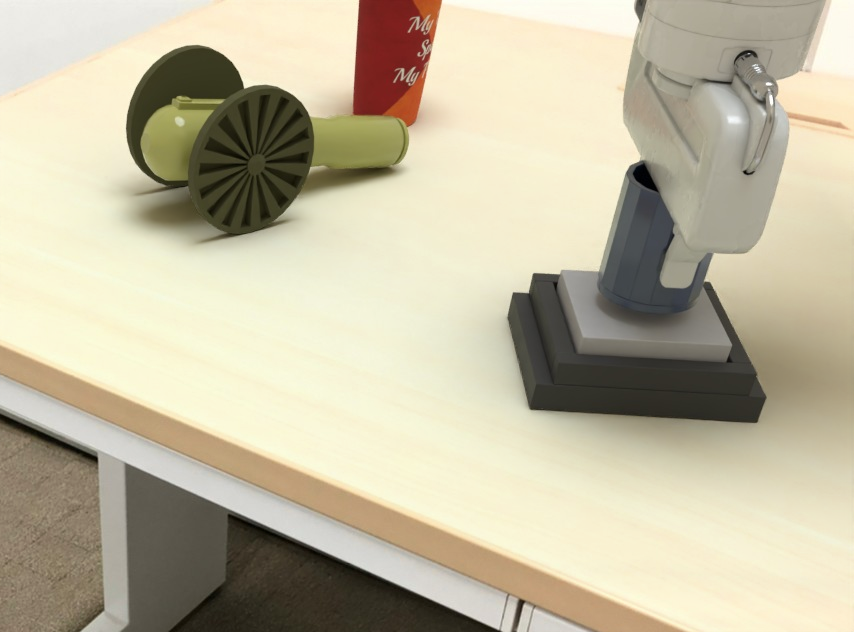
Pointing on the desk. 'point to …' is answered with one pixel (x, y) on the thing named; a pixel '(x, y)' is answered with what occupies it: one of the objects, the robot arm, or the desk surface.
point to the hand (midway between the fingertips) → (658, 253)
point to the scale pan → (637, 325)
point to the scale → (625, 369)
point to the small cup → (643, 251)
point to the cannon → (243, 139)
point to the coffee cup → (393, 56)
